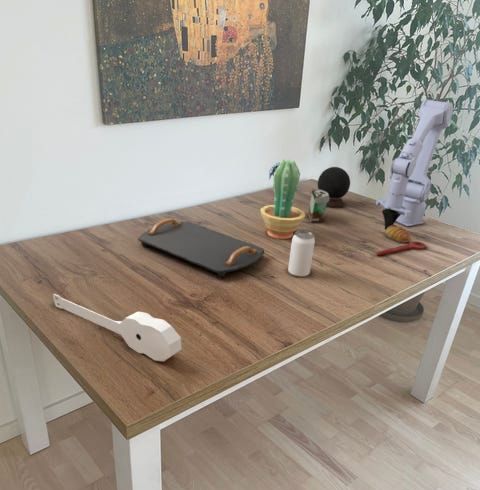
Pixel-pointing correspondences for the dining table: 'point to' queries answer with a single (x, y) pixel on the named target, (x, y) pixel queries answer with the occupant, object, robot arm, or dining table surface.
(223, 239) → the serving tray
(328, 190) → the black ball on stand
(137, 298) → the dining table surface
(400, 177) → the robot arm
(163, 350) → the white toy guitar
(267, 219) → the potted cactus
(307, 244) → the can
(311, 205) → the food container
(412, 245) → the spoon
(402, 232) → the pastry
